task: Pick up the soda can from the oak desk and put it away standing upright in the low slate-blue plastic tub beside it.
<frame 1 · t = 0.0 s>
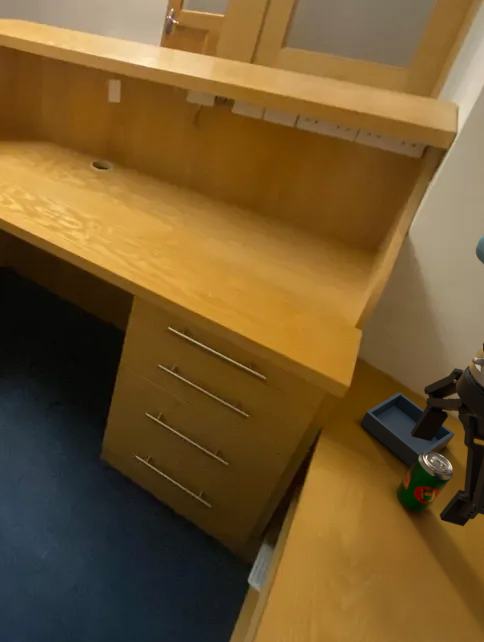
hand: (434, 475, 77), 21 cm above the table, tool pointing down, fingers open, 13 cm apart
soda can: (410, 500, 95), on the table
tub: (402, 434, 106), on the table
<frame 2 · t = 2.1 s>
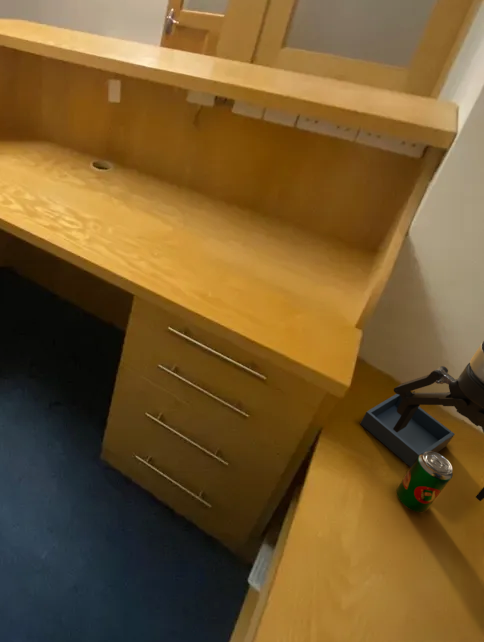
hand: (438, 459, 88), 13 cm above the table, tool pointing down, fingers open, 13 cm apart
nothing on the table moved.
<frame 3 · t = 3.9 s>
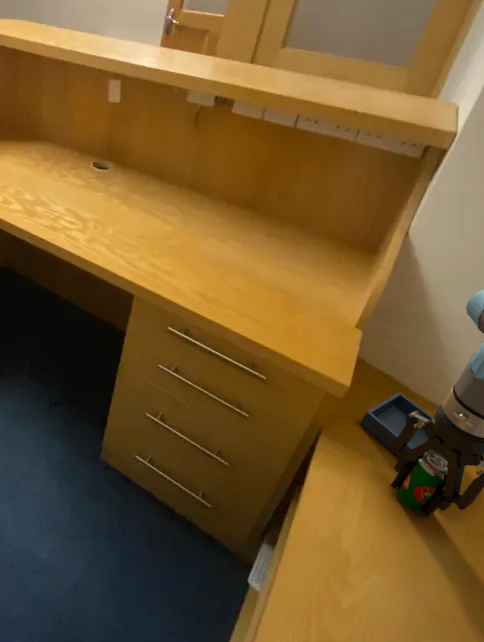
hand: (412, 497, 94), 1 cm above the table, tool pointing down, fingers closed on soda can, 5 cm apart
soda can: (410, 500, 95), on the table, touching gripper
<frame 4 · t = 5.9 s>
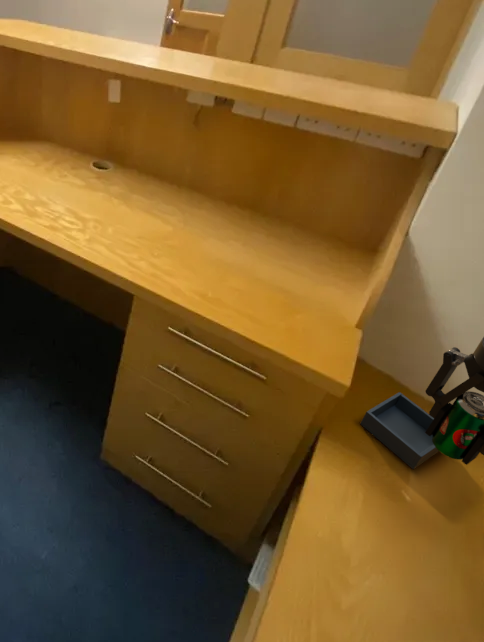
hand: (449, 444, 86), 16 cm above the table, tool pointing down, fingers closed on soda can, 5 cm apart
soda can: (447, 448, 87), point 15 cm above the table, touching gripper
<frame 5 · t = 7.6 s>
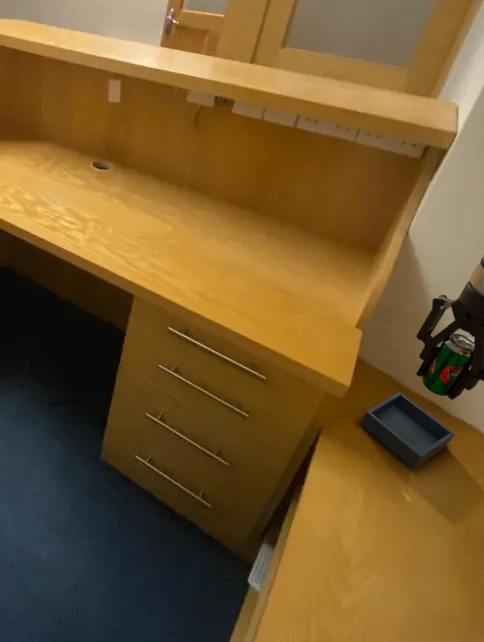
hand: (437, 384, 96), 17 cm above the table, tool pointing down, fingers closed on soda can, 5 cm apart
soda can: (435, 387, 97), point 16 cm above the table, touching gripper
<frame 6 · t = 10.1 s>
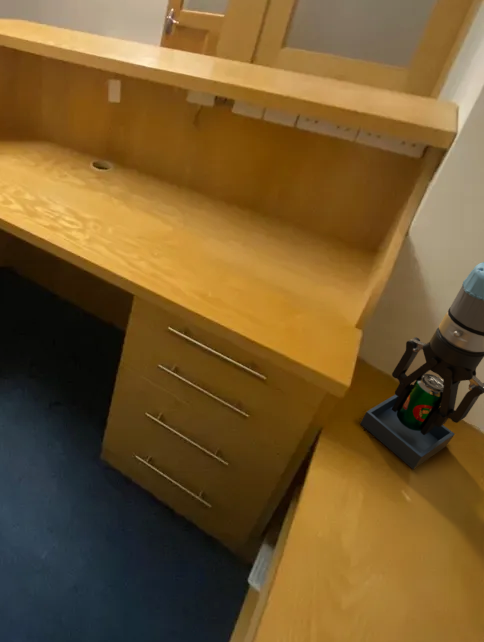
hand: (411, 419, 103), 5 cm above the table, tool pointing down, fingers closed on soda can, 5 cm apart
soda can: (409, 422, 104), point 4 cm above the table, touching gripper
when the fingers open (2 cm above the table, at t = 12.3 s): soda can stays where it is, resting on tub.
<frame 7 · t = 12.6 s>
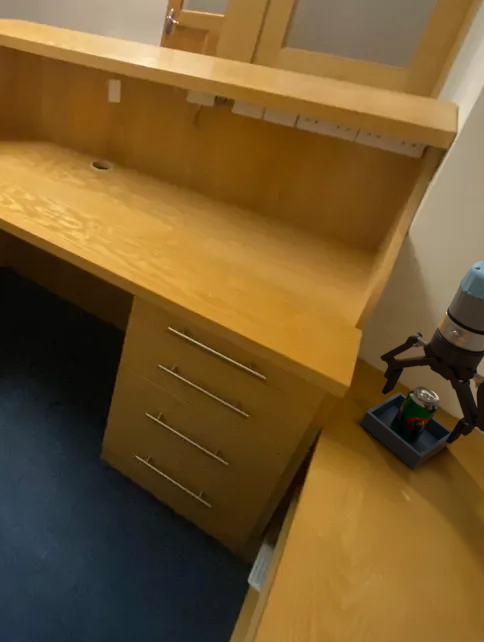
hand: (417, 414, 102), 7 cm above the table, tool pointing down, fingers open, 12 cm apart
soda can: (402, 433, 106), resting on tub
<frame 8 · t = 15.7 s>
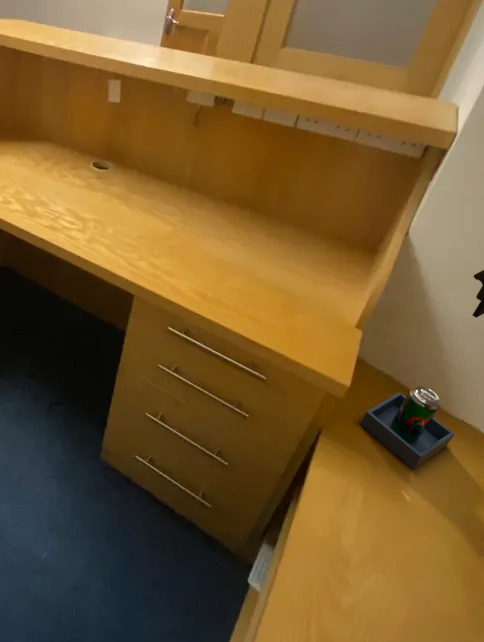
nothing on the table moved.
at the end: soda can inside the target area in the tub (0.0 cm from its centre), point 0.4 cm above the tub's base; soda can tilted 0°; the gripper is holding nothing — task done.
